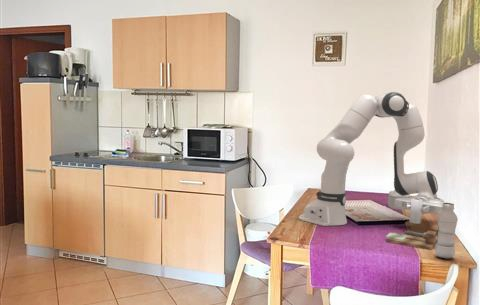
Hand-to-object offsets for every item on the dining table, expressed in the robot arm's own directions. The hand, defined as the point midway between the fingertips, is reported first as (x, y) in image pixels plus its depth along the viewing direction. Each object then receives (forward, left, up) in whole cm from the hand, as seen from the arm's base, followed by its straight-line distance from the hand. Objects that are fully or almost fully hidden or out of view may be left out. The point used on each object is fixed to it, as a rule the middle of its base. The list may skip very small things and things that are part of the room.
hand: (415, 208), depth 184 cm
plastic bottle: (+16, -23, -12) cm, 30 cm away
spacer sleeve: (0, +1, -6) cm, 6 cm away
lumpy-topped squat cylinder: (-19, +51, -12) cm, 56 cm away
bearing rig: (+2, -11, -12) cm, 16 cm away
